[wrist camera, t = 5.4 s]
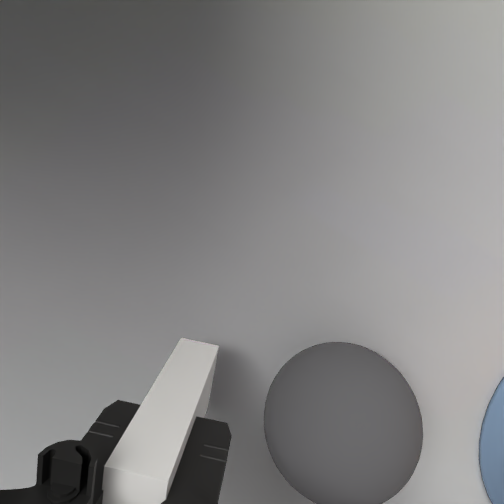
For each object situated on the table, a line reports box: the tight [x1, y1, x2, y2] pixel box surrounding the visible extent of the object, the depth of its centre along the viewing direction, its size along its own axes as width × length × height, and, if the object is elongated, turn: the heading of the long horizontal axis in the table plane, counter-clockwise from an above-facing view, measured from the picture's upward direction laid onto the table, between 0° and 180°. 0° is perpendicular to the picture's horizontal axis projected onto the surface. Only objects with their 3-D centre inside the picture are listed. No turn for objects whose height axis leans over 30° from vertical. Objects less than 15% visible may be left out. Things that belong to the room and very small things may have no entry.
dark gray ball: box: [264, 342, 423, 504], centre depth 15 cm, size 6×6×6 cm
